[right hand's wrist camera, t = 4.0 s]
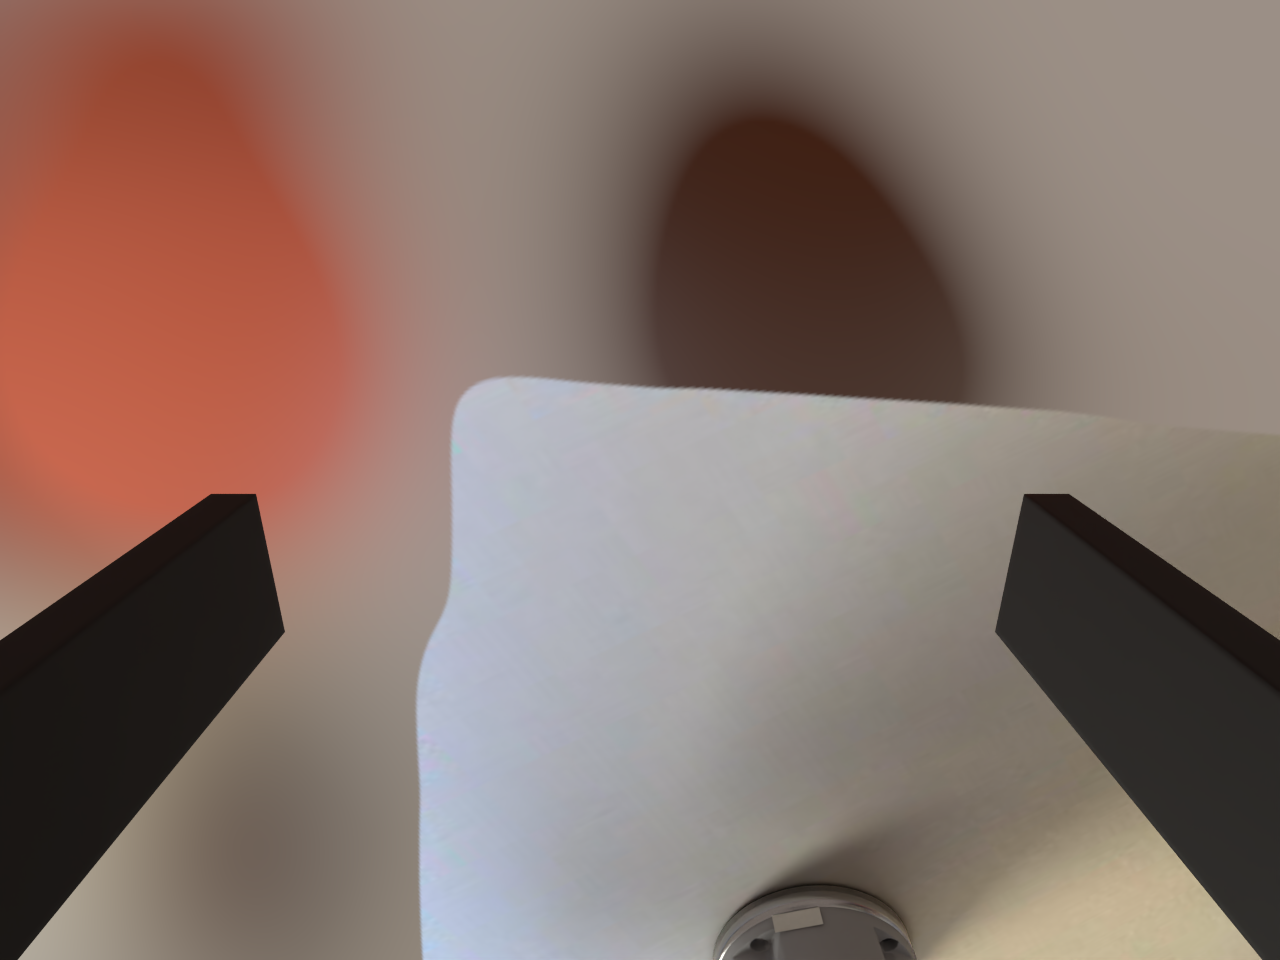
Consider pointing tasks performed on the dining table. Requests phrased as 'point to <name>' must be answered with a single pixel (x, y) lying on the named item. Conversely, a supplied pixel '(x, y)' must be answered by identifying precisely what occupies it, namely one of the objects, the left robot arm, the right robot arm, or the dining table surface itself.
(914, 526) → the dining table surface
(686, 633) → the dining table surface
